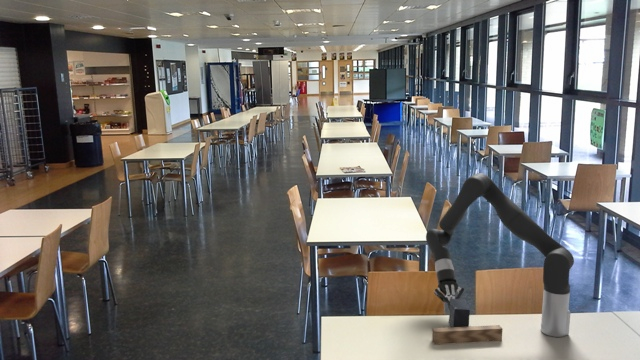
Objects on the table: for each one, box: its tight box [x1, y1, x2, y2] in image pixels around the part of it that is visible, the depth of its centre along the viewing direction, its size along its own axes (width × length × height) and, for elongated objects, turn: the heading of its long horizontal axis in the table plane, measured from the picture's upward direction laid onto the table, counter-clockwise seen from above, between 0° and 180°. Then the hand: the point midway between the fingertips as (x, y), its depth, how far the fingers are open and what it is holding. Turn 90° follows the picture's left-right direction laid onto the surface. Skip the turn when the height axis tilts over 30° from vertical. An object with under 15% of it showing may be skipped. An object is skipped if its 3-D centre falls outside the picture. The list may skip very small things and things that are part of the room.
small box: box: [448, 298, 471, 327], centre depth 216 cm, size 11×6×10 cm, turn 176°
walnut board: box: [431, 324, 503, 345], centre depth 206 cm, size 26×3×5 cm, turn 95°
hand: (453, 311), depth 222 cm, fingers closed
